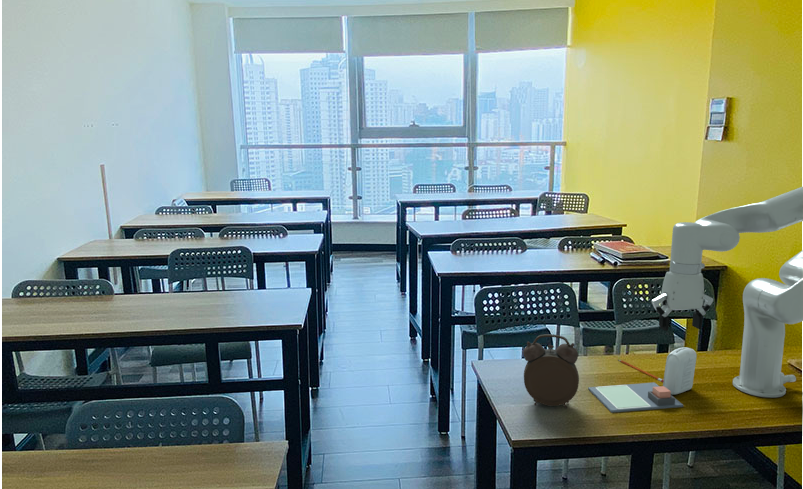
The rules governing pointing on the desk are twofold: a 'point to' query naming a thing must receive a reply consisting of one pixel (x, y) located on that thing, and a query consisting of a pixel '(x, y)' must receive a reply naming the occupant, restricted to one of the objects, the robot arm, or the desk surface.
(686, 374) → the photo printer
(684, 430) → the desk surface
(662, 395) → the button
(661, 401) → the activity board
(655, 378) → the pencil
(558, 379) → the alarm clock
